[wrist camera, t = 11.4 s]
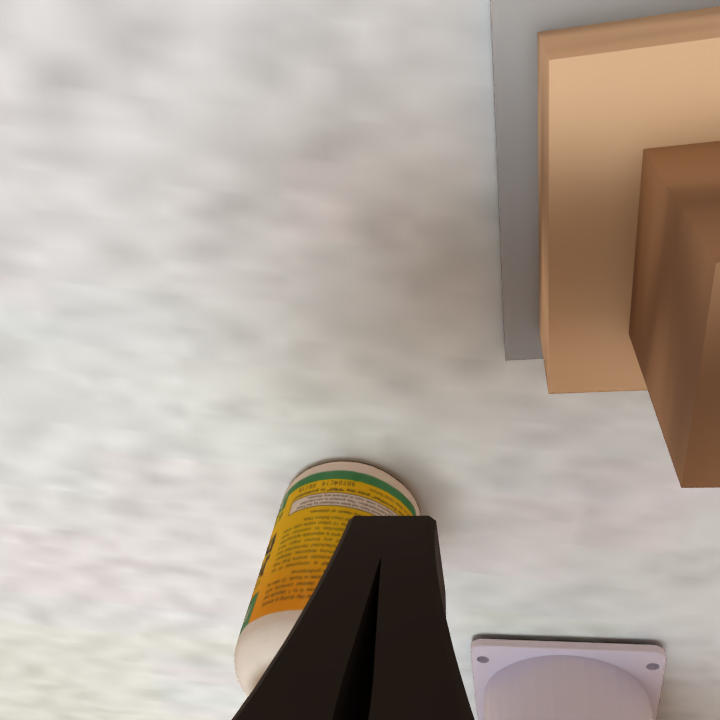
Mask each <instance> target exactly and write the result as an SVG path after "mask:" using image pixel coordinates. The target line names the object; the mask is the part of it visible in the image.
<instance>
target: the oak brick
mask: <svg viewBox="0 0 720 720" xmlns="http://www.w3.org/2000/svg"><path fill="white" fill-rule="evenodd" d="M537 36H538V185H539V331H540V338H541V345H542V352H543V358H544V365H545V372H546V379H547V386H548V393H549V394H555V393H583V392H611V391H638V390H648V389H647V386H646V383H645V380H644V377H643V374H642V372H641V369H640V366H639V363H638V360H637V357H636V354H635V351H634V348H633V345H632V342H631V339H630V337H629V323H630V310H631V297H632V285H633V272H634V260H635V247H636V235H637V222H638V210H639V197H640V185H641V172H642V160H643V149H647V148H657V147H666V146H676V145H685V144H695V143H704V142H714V141H720V6H718V7H711V8H704V9H697V10H690V11H683V12H676V13H669V14H662V15H655V16H648V17H641V18H634V19H626V20H619V21H612V22H605V23H598V24H591V25H584V26H577V27H570V28H563V29H556V30H549V31H542V32H537Z"/></svg>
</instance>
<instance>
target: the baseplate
mask: <svg viewBox="0 0 720 720" xmlns="http://www.w3.org/2000/svg"><path fill="white" fill-rule="evenodd" d="M490 1H491V26H492V50H493V74H494V98H495V122H496V146H497V171H498V195H499V219H500V243H501V267H502V291H503V316H504V340H505V359H506V360H525V359H544V358H543V352H542V345H541V338H540V331H539V185H538V36H537V32H542V31H549V30H556V29H563V28H570V27H577V26H584V25H591V24H598V23H605V22H612V21H619V20H626V19H634V18H641V17H648V16H655V15H662V14H669V13H676V12H683V11H690V10H697V9H704V8H711V7H718V6H720V0H490Z"/></svg>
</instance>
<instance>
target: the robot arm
mask: <svg viewBox="0 0 720 720" xmlns="http://www.w3.org/2000/svg"><path fill="white" fill-rule="evenodd" d="M471 658H472V668H473V677H474V686H475V695H476V705H477V714H478V720H656V716H657V711H658V705H659V699H660V693H661V688H662V682H663V676H664V670H665V665H666V655H665V651H664V649H663V648H662V647H660V646H657V645H644V644H616V643H588V642H560V641H531V640H503V639H477V640H474V641H473V642H472V643H471ZM232 720H474V717H473V714H472V711H471V707H470V704H469V701H468V698H467V694H466V691H465V688H464V685H463V681H462V678H461V675H460V671H459V668H458V664H457V660H456V657H455V653H454V650H453V645H452V641H451V637H450V633H449V629H448V625H447V620H446V598H445V585H444V578H443V570H442V563H441V555H440V548H439V540H438V533H437V525H436V521H435V520H434V519H433V518H431V517H430V516H353V517H352V518H351V519H350V520H349V521H348V523H347V526H346V528H345V530H344V532H343V535H342V537H341V539H340V541H339V543H338V545H337V547H336V549H335V551H334V553H333V555H332V557H331V559H330V561H329V563H328V565H327V567H326V569H325V571H324V573H323V575H322V577H321V579H320V580H319V582H318V584H317V586H316V588H315V590H314V592H313V593H312V595H311V597H310V599H309V600H308V602H307V604H306V605H305V607H304V609H303V611H302V612H301V614H300V616H299V618H298V619H297V621H296V623H295V625H294V626H293V628H292V630H291V631H290V633H289V635H288V636H287V638H286V640H285V641H284V643H283V644H282V646H281V647H280V649H279V651H278V652H277V654H276V655H275V657H274V658H273V660H272V661H271V663H270V664H269V666H268V668H267V669H266V671H265V672H264V674H263V675H262V677H261V678H260V680H259V681H258V683H257V684H256V686H255V687H254V689H253V690H252V692H251V693H250V695H249V696H248V698H247V699H246V700H245V702H244V703H243V705H242V706H241V708H240V709H239V710H238V712H237V713H236V715H235V716H234V717H233V719H232Z"/></svg>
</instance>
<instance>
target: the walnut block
mask: <svg viewBox="0 0 720 720" xmlns="http://www.w3.org/2000/svg"><path fill="white" fill-rule="evenodd" d="M629 337H630V339H631V342H632V345H633V348H634V351H635V354H636V357H637V360H638V363H639V366H640V369H641V372H642V374H643V377H644V380H645V383H646V386H647V389H648V392H649V395H650V398H651V401H652V404H653V407H654V409H655V412H656V415H657V418H658V421H659V424H660V427H661V430H662V433H663V436H664V439H665V442H666V444H667V447H668V450H669V453H670V456H671V459H672V462H673V465H674V468H675V471H676V474H677V477H678V479H679V482H680V485H681V488H704V487H720V141H714V142H704V143H695V144H685V145H676V146H666V147H657V148H647V149H643V160H642V172H641V185H640V197H639V210H638V222H637V235H636V247H635V260H634V272H633V285H632V297H631V310H630V323H629Z"/></svg>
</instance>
